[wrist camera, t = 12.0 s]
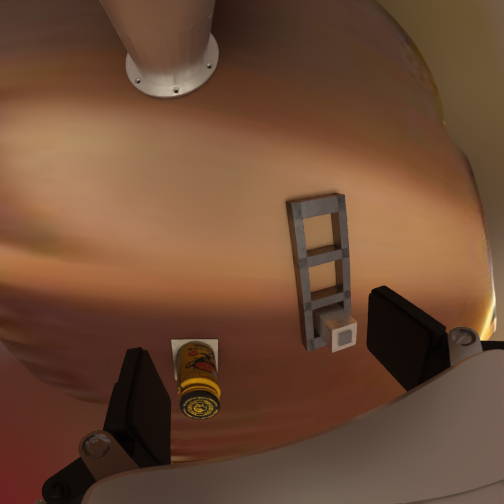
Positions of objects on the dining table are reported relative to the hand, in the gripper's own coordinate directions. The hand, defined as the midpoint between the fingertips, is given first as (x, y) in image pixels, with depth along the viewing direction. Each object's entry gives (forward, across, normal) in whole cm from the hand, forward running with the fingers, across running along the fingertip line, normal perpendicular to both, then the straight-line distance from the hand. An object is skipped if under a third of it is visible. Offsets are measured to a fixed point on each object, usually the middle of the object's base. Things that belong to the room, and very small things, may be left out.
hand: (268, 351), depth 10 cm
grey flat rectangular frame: (+28, -14, +11) cm, 33 cm away
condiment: (+29, +8, +21) cm, 36 cm away
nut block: (+28, -14, +18) cm, 36 cm away
